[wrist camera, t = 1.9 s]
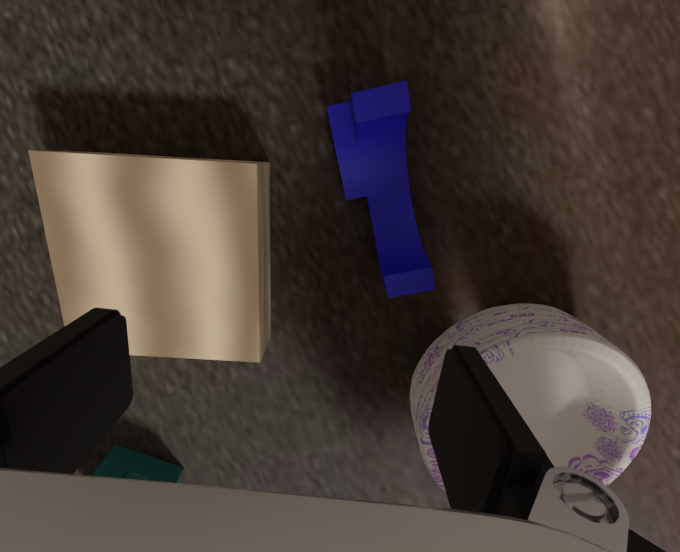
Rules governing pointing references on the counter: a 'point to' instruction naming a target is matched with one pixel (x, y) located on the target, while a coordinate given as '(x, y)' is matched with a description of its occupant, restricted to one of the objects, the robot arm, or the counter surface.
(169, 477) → the bracket
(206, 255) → the plate
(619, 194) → the counter surface
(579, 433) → the paper bowls
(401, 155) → the blue stepped block
